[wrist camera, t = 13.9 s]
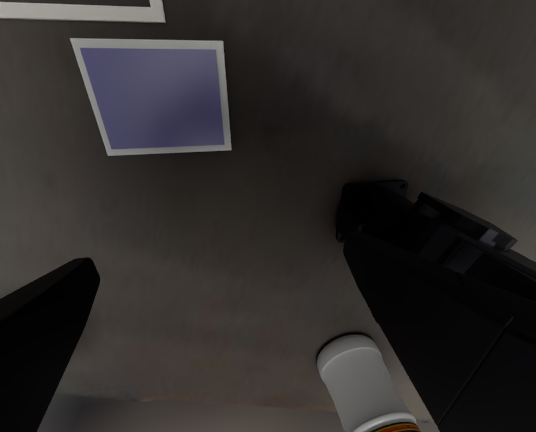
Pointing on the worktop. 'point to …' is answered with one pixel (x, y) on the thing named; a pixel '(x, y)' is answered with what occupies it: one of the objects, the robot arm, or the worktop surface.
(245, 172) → the worktop surface
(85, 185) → the worktop surface
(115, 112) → the ink pad
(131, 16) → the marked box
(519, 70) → the worktop surface
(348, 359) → the vodka
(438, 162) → the worktop surface
